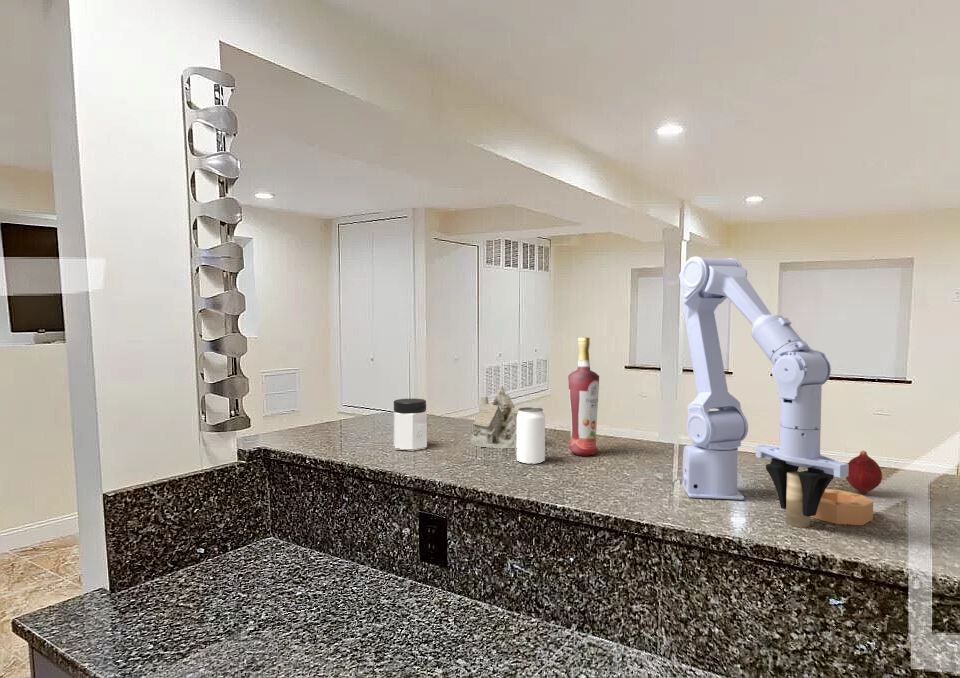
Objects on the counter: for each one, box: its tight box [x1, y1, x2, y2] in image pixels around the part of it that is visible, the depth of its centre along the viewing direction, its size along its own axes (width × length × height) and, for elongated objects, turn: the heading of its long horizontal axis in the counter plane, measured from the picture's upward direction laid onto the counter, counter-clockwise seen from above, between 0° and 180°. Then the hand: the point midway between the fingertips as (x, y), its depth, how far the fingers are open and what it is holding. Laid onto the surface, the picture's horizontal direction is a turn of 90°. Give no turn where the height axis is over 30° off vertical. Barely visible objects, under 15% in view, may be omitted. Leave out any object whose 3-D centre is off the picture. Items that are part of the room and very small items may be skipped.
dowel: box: [785, 471, 811, 529], centre depth 94 cm, size 3×3×8 cm
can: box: [516, 406, 546, 464], centre depth 134 cm, size 6×6×12 cm
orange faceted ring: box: [810, 488, 874, 526], centre depth 98 cm, size 9×9×3 cm
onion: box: [845, 450, 883, 495], centre depth 109 cm, size 6×6×8 cm
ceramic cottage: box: [469, 385, 520, 449], centre depth 152 cm, size 16×16×15 cm
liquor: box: [567, 337, 600, 457], centre depth 141 cm, size 7×7×28 cm
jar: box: [393, 398, 428, 449], centre depth 148 cm, size 9×8×12 cm
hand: (798, 511), depth 94 cm, fingers closed on dowel, 3 cm apart
